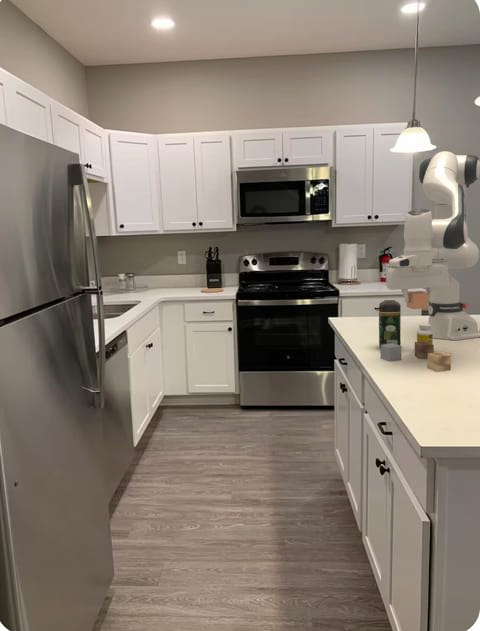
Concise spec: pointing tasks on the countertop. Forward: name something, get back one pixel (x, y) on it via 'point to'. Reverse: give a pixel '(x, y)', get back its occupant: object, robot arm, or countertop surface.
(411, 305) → the terracotta cube
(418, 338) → the supplement bottle
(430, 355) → the oak cube
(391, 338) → the coffee jar
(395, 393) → the countertop surface
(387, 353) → the grey cube
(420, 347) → the walnut cube
